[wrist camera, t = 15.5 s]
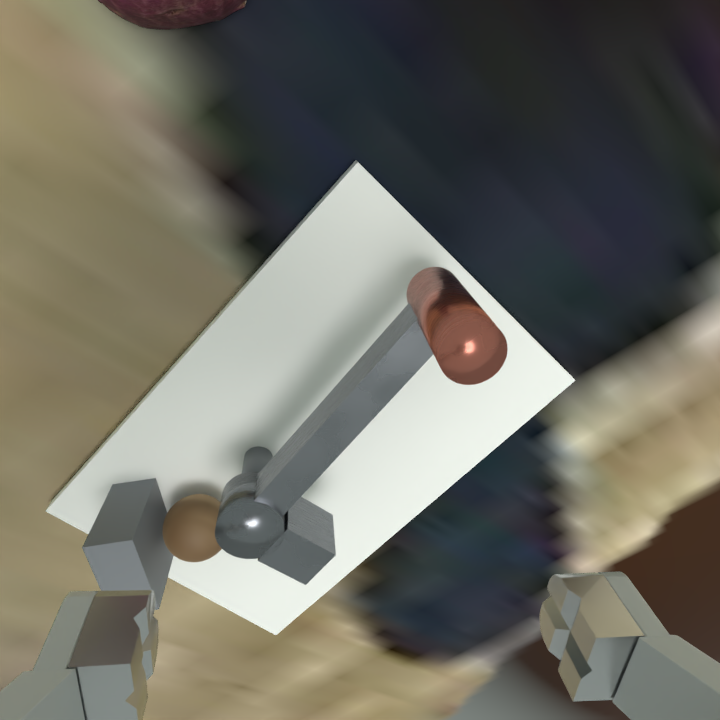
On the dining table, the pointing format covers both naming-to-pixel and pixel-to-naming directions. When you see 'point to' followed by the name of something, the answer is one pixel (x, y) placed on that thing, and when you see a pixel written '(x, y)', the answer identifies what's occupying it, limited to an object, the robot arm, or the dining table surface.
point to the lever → (354, 424)
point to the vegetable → (173, 11)
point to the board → (301, 410)
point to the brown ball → (192, 528)
